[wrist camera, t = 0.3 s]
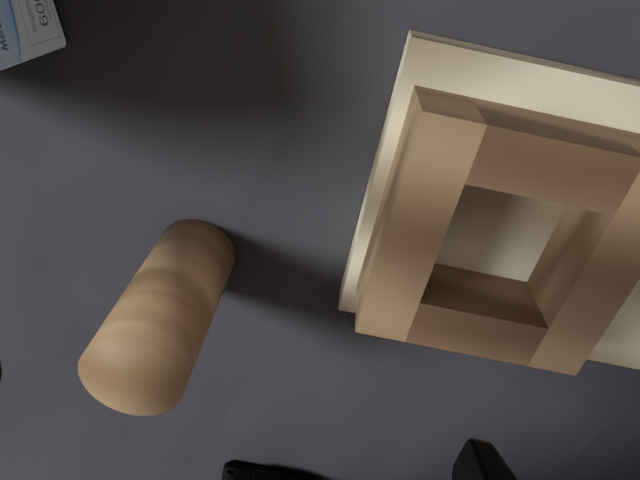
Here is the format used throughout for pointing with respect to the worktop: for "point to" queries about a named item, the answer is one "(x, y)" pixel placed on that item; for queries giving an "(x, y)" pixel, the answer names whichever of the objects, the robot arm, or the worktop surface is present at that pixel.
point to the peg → (159, 322)
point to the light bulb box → (28, 30)
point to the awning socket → (502, 210)
